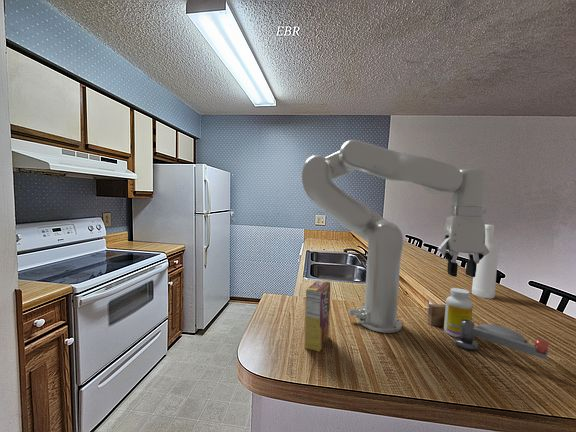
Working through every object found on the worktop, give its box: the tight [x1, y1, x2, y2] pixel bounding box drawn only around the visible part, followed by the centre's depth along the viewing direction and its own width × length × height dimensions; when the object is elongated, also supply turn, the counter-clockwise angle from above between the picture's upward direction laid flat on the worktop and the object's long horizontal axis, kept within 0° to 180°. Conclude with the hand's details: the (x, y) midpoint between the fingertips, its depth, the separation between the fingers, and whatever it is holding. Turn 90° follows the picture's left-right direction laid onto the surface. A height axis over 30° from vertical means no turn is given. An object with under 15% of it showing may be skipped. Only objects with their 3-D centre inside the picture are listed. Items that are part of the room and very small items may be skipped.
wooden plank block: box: [427, 303, 446, 327], centre depth 86 cm, size 12×2×6 cm, turn 92°
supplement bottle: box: [443, 287, 473, 337], centre depth 80 cm, size 7×7×13 cm
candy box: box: [304, 280, 331, 353], centre depth 72 cm, size 9×4×15 cm, turn 156°
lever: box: [454, 319, 550, 360], centre depth 69 cm, size 18×5×7 cm, turn 43°
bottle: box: [471, 224, 499, 300], centre depth 116 cm, size 8×8×30 cm
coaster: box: [477, 323, 526, 343], centre depth 81 cm, size 11×11×1 cm
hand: (461, 275), depth 80 cm, fingers open, 4 cm apart
